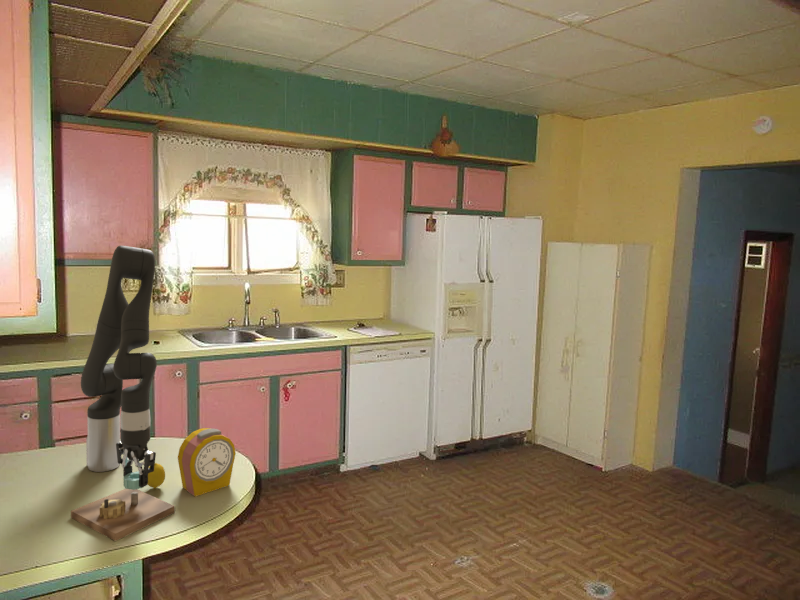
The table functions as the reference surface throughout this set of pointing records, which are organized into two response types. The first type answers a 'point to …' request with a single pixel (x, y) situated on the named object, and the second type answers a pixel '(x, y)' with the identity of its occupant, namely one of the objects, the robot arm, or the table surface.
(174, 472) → the table surface
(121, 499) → the gear board
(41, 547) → the table surface
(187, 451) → the alarm clock
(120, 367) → the robot arm
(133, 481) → the teal gear
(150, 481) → the lemon
